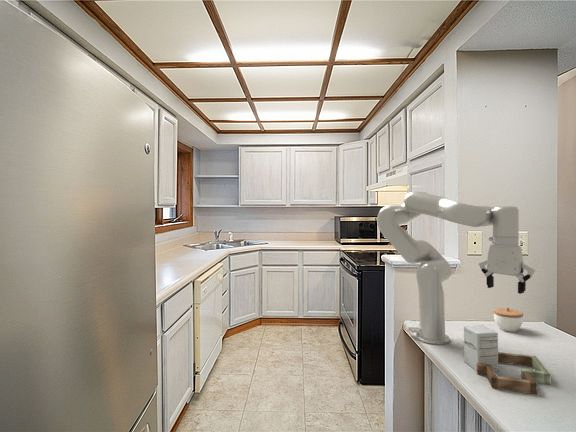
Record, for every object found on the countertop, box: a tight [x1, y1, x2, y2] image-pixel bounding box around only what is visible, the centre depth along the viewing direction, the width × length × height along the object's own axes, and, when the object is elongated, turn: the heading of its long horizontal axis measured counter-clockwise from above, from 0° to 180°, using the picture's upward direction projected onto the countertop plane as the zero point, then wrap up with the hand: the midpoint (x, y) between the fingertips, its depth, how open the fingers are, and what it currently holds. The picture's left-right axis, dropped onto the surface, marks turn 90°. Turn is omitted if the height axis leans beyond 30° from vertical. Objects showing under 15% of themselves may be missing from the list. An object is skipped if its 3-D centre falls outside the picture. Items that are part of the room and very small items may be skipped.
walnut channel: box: [476, 351, 552, 385], centre depth 107 cm, size 19×13×3 cm
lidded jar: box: [493, 307, 524, 333], centre depth 142 cm, size 11×11×9 cm
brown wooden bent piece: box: [486, 366, 538, 395], centre depth 98 cm, size 11×8×3 cm
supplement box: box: [463, 324, 499, 371], centre depth 110 cm, size 7×7×13 cm
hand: (505, 290), depth 115 cm, fingers open, 9 cm apart
